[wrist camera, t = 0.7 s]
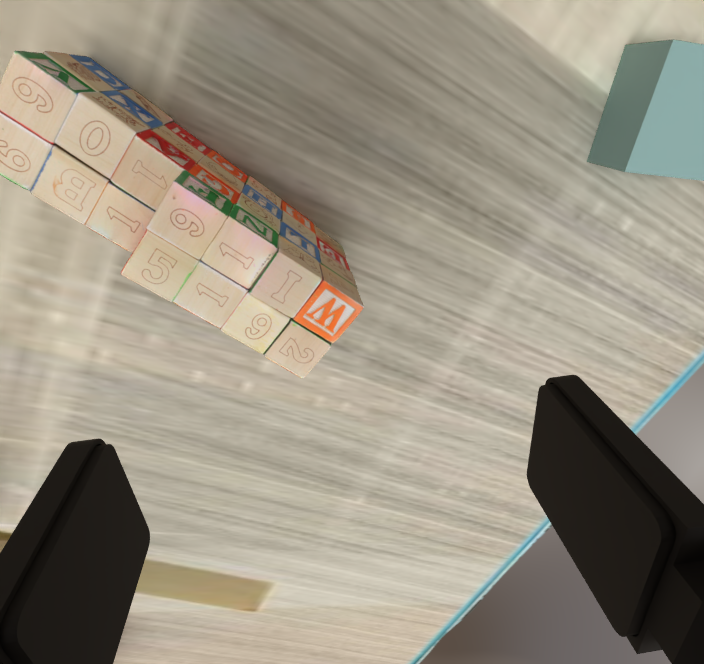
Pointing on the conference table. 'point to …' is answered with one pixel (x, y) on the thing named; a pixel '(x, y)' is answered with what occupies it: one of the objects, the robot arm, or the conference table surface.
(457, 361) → the conference table surface
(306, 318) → the stack of blocks
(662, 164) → the teal block
